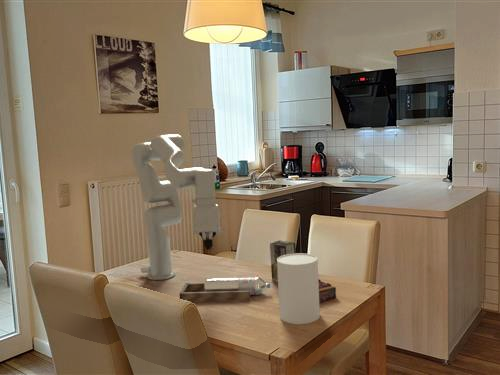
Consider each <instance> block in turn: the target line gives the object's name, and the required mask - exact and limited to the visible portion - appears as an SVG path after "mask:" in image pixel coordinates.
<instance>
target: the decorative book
mask: <svg viewBox="0 0 500 375" xmlns="http://www.w3.org/2000/svg"><path fill="white" fill-rule="evenodd" d="M318 284H319V303H321V302H325V301H329V300H331V299H334V298H337V291H336V290H337V289H336V287H335V286H333V285H332V284H331V283H328V282H327V283H325V282H324V281H321V279H319V278H318Z"/></svg>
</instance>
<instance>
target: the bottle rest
mask: <svg viewBox="0 0 500 375" xmlns="http://www.w3.org/2000/svg"><path fill="white" fill-rule="evenodd" d="M204 283H205V282H188V283H187V282H186V283H185V284H184V285H183V287H182V289H181V290H180V292H179V300H180V299H183V300H187V301H191V302H190V303H206V302H210V303H211V302H216V303H217V302H236V301H237V302H242V301H243V302H246V301H251V295H250V290H246V291H215V292H205V291H204Z"/></svg>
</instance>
